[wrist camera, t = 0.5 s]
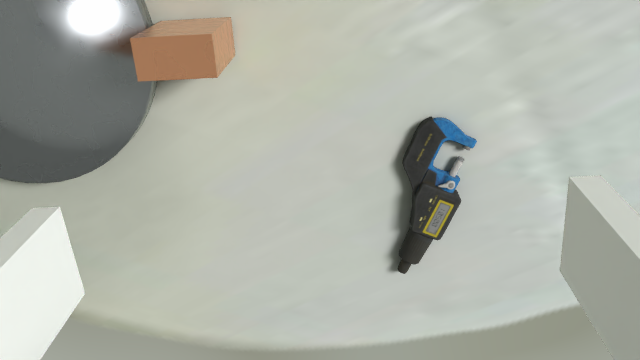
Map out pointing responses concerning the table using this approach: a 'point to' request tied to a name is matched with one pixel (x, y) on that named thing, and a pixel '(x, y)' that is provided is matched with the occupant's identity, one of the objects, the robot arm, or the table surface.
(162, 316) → the table surface
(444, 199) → the micrometer
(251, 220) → the table surface
